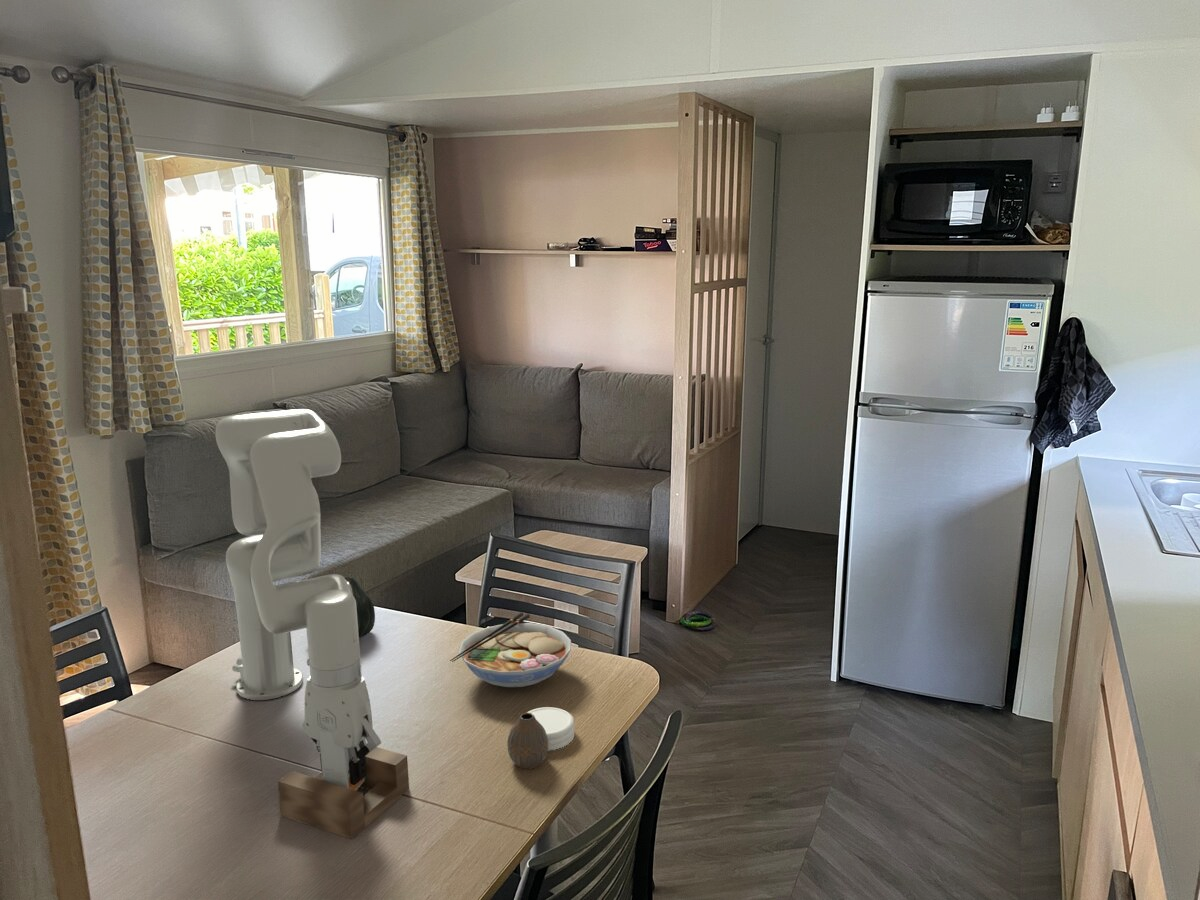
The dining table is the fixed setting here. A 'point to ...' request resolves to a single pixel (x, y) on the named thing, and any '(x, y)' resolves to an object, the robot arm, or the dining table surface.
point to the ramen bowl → (515, 652)
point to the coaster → (555, 726)
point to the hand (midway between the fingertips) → (344, 774)
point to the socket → (345, 795)
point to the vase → (527, 742)
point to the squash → (362, 608)
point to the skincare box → (335, 761)
